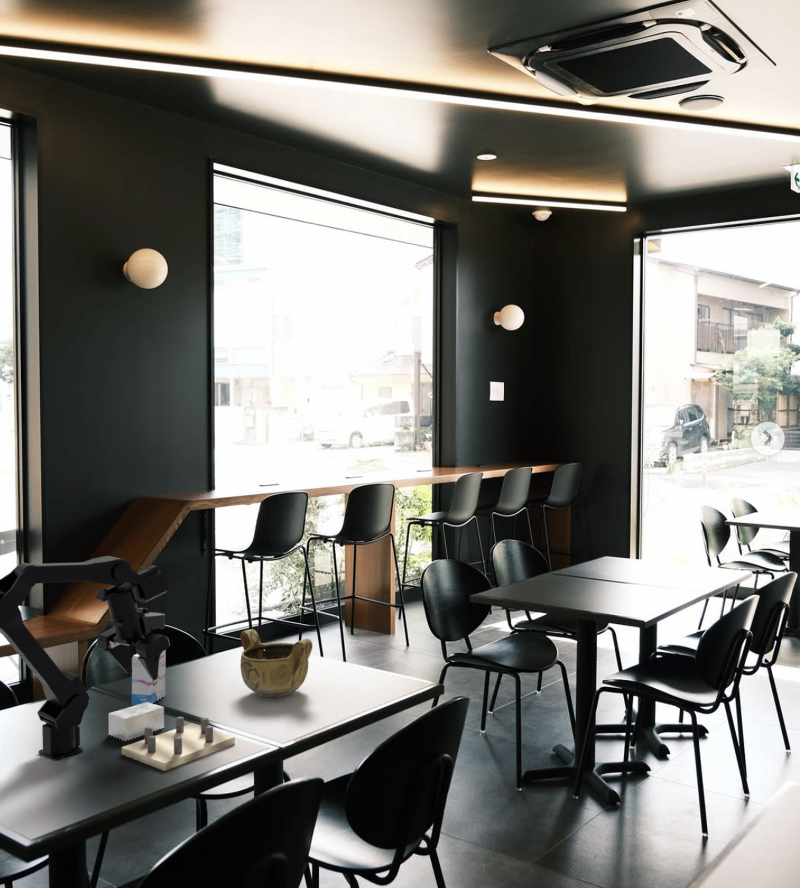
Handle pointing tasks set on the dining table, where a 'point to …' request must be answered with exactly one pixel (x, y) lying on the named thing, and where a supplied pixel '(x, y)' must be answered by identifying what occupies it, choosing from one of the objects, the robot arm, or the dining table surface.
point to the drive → (135, 720)
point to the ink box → (147, 682)
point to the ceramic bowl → (273, 665)
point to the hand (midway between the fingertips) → (142, 676)
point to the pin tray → (168, 747)
